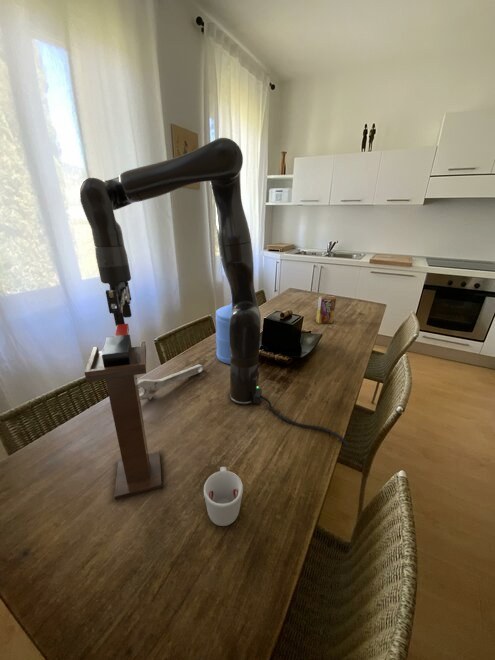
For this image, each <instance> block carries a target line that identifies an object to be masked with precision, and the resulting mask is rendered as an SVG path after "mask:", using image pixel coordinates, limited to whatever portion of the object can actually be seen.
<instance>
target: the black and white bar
mask: <svg viewBox="0 0 495 660" xmlns="http://www.w3.org/2000/svg"><path fill="white" fill-rule="evenodd" d="M129 333H130V327H129V323H125V324H118V325H117V326H116V328H115V332H114V335H111V336H106V339H105V342H104V346H103V349H102V351H103V352H102V359H103V364H104V368H106V367H114V366H121V365H129V364H130V360H131V349H132V347H133V346H132V340H131V334H129Z"/></svg>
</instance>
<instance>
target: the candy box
mask: <svg viewBox="0 0 495 660" xmlns="http://www.w3.org/2000/svg"><path fill="white" fill-rule="evenodd" d="M336 302H337V297H336V296H334V295H325V296H324V295H322V296H321V295H320V296H318V302H317V310H316V318H315V322H316V323H317V324H333V323H334V316H335V310H336V309H335V307H336Z"/></svg>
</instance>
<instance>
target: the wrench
mask: <svg viewBox="0 0 495 660" xmlns="http://www.w3.org/2000/svg"><path fill="white" fill-rule="evenodd" d="M203 371H204V365H203V364H199V363H198V364H196V365H193V366H191V367H188V368H185V369H183V370H180V371H177V372H175V373H172V374H169V375H167V376H164V377H162V378H159V379H146V378H141V379H137V383H138V389H139V390H140V389H141V388H142V391H141V392H139V396H140V401H145V400H147V399H148V400H152V398H153V397H154V395H155V394H156V393H157V392H158V391H159V390H161V389H162V388H165V387H167V386H169V385H172V384H175V383H177V382H181V381H182V380H185V379H188V378H189V377H192V376H195V375H198V374H201V373H202V372H203Z"/></svg>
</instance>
